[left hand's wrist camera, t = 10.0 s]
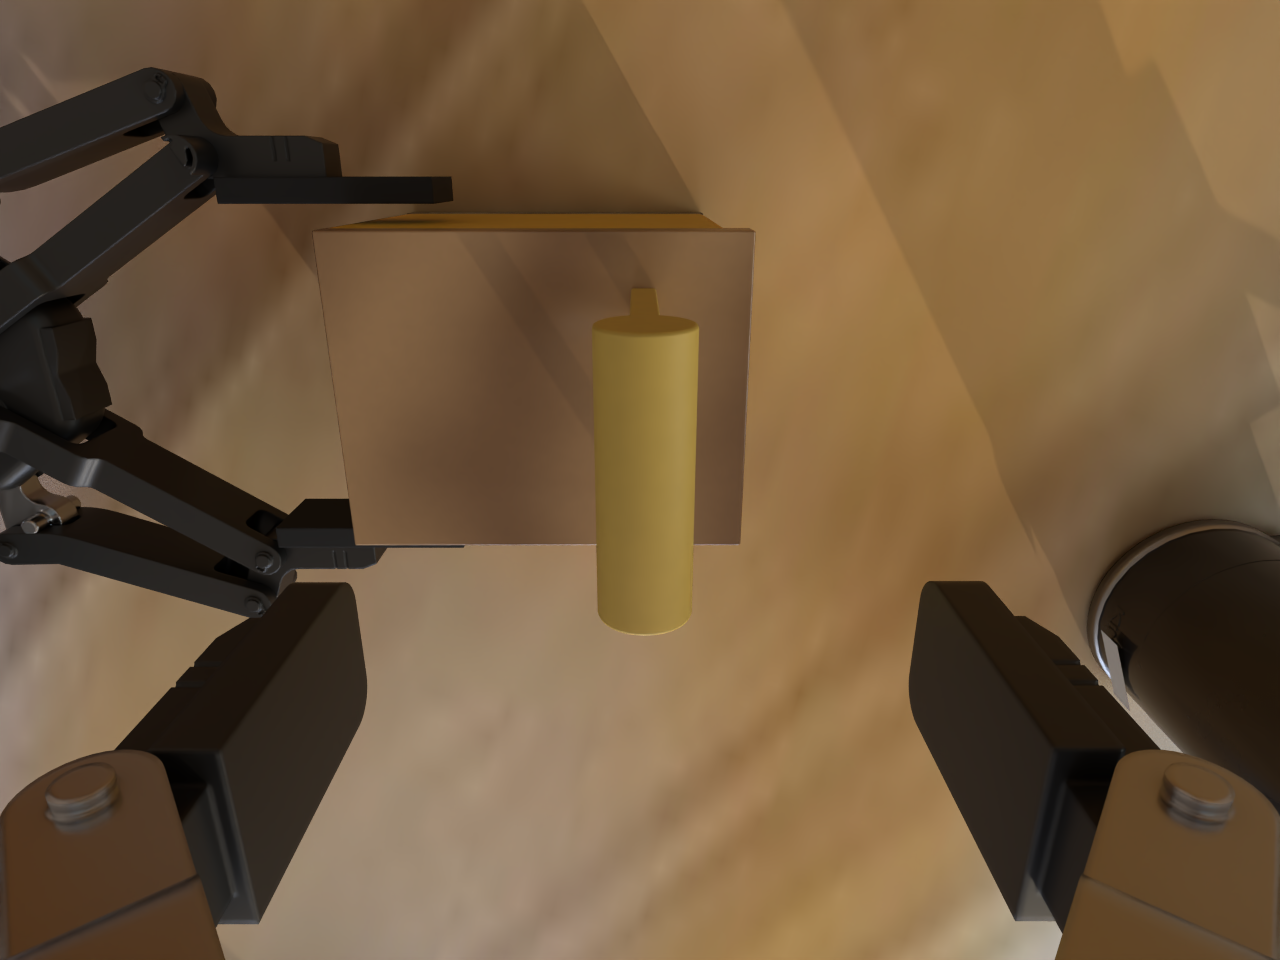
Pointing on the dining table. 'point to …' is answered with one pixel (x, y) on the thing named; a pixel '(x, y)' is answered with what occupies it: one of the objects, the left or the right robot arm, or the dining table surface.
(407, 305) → the lid
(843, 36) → the dining table surface
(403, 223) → the chest
